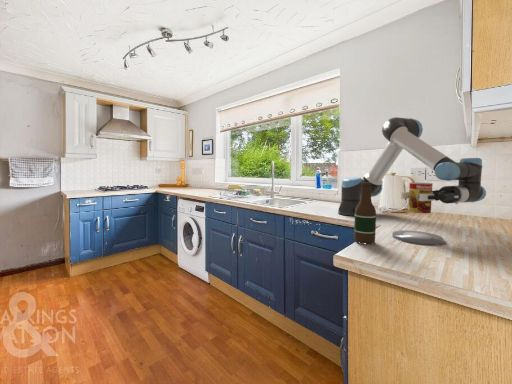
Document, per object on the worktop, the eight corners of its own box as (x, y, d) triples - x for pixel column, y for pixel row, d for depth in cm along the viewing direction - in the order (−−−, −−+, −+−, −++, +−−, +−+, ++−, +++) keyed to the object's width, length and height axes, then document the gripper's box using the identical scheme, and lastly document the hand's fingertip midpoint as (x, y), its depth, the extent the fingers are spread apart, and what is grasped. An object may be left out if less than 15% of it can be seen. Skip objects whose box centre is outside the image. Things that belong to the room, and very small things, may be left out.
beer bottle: (379, 244, 97) (382, 182, 95) (362, 245, 95) (365, 182, 93) (365, 238, 105) (367, 181, 103) (349, 240, 103) (351, 181, 100)
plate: (386, 238, 104) (386, 235, 104) (399, 230, 117) (399, 228, 117) (439, 248, 92) (439, 244, 92) (446, 238, 105) (447, 235, 105)
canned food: (420, 214, 99) (422, 183, 98) (403, 210, 106) (405, 182, 105) (435, 213, 101) (437, 183, 100) (418, 209, 108) (419, 182, 107)
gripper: (478, 206, 98) (434, 209, 92) (429, 200, 118) (390, 202, 112) (480, 187, 98) (436, 189, 91) (430, 184, 117) (391, 185, 111)
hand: (410, 196), depth 102 cm, fingers closed on canned food, 8 cm apart
